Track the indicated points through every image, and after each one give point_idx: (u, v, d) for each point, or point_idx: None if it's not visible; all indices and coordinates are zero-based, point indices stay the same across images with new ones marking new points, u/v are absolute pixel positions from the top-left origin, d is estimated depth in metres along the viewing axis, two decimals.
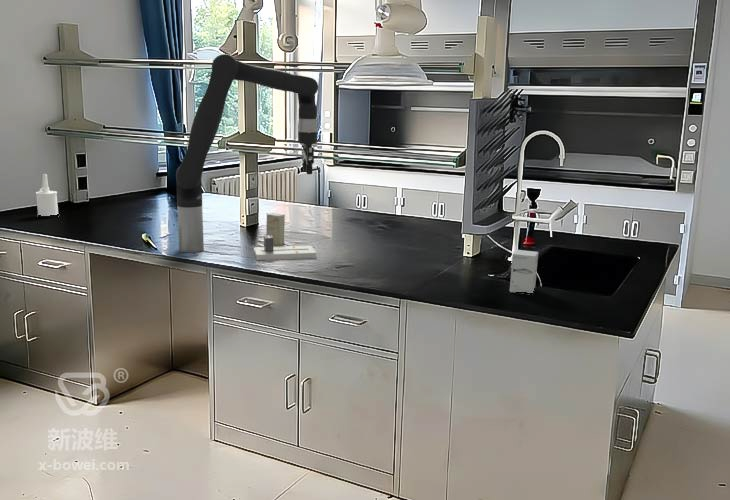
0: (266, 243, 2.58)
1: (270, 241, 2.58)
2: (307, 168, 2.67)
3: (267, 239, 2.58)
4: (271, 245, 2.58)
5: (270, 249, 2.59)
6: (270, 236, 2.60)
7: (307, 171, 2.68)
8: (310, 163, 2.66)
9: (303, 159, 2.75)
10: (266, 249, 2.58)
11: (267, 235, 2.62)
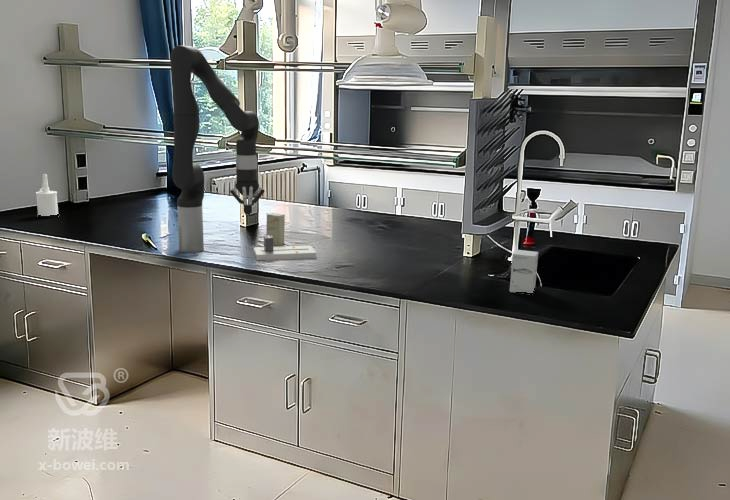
0: (266, 243, 2.58)
1: (270, 241, 2.58)
2: (249, 209, 2.55)
3: (267, 239, 2.58)
4: (271, 245, 2.58)
5: (270, 249, 2.59)
6: (270, 236, 2.60)
7: (250, 212, 2.56)
8: None
9: (246, 200, 2.54)
10: (266, 249, 2.58)
11: (267, 235, 2.62)
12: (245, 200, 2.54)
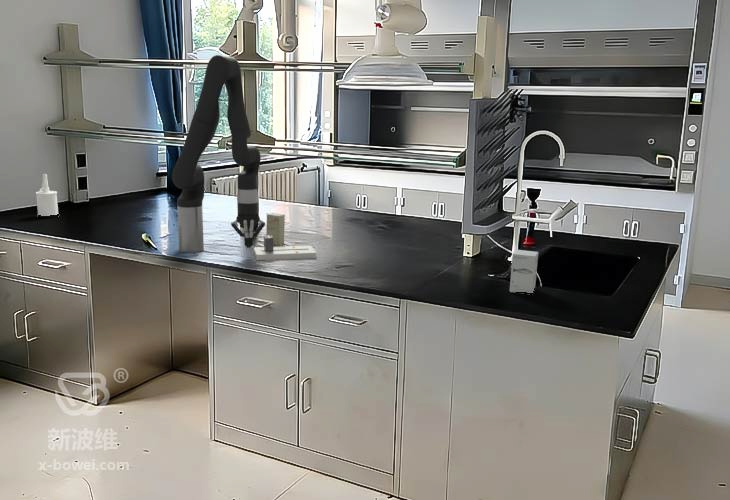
0: (266, 243, 2.58)
1: (270, 241, 2.58)
2: (250, 241, 2.58)
3: (267, 239, 2.58)
4: (271, 245, 2.58)
5: (270, 249, 2.59)
6: (270, 236, 2.60)
7: (250, 244, 2.58)
8: None
9: (247, 233, 2.57)
10: (266, 249, 2.58)
11: (267, 235, 2.62)
12: (246, 233, 2.57)
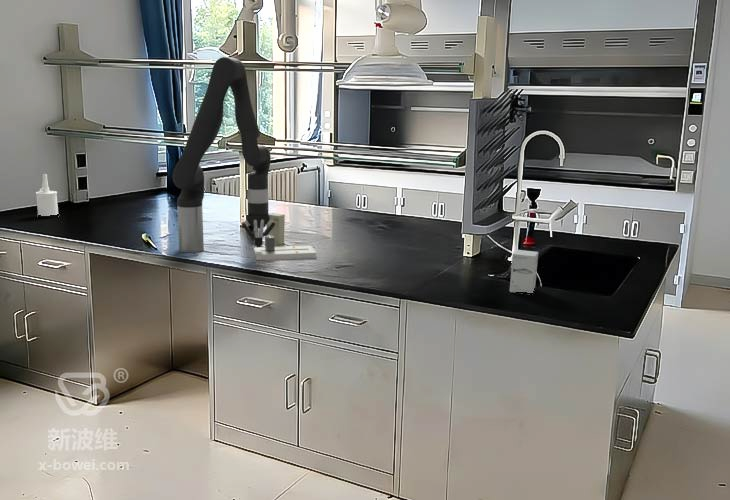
0: (267, 243, 2.58)
1: (271, 241, 2.58)
2: (260, 241, 2.59)
3: (268, 239, 2.58)
4: (272, 245, 2.59)
5: (271, 249, 2.59)
6: (271, 236, 2.61)
7: (260, 244, 2.59)
8: None
9: (257, 233, 2.58)
10: (267, 249, 2.58)
11: (268, 235, 2.62)
12: (256, 233, 2.57)
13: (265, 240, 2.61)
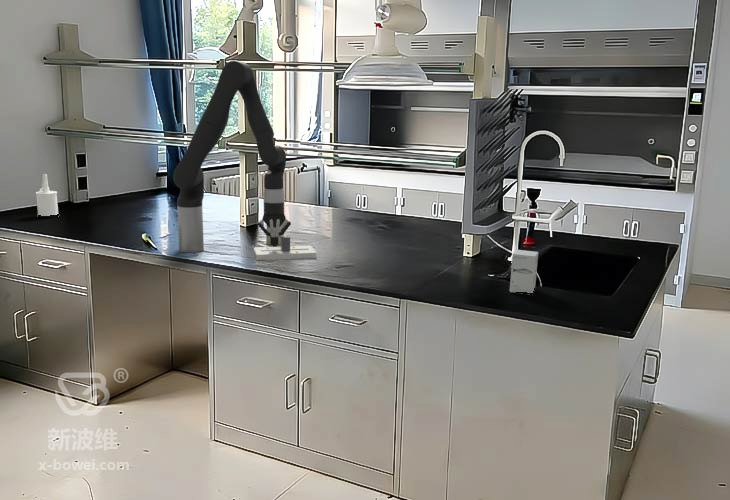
0: (283, 242, 2.59)
1: (287, 240, 2.60)
2: (276, 240, 2.60)
3: (284, 238, 2.59)
4: (288, 244, 2.60)
5: (287, 248, 2.60)
6: (287, 235, 2.62)
7: (276, 243, 2.60)
8: None
9: (273, 232, 2.59)
10: (283, 248, 2.60)
11: None
12: (272, 232, 2.59)
13: (281, 240, 2.62)
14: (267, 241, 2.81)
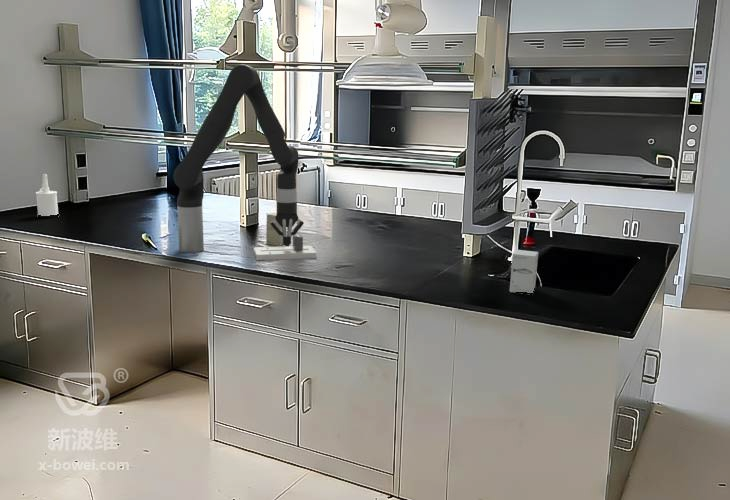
0: (296, 242, 2.61)
1: (299, 240, 2.61)
2: (289, 240, 2.61)
3: (297, 238, 2.60)
4: (300, 244, 2.61)
5: (299, 248, 2.61)
6: (299, 235, 2.63)
7: (289, 243, 2.62)
8: None
9: (286, 232, 2.60)
10: (295, 248, 2.61)
11: (296, 234, 2.64)
12: (285, 232, 2.60)
13: (293, 239, 2.63)
14: (267, 241, 2.81)
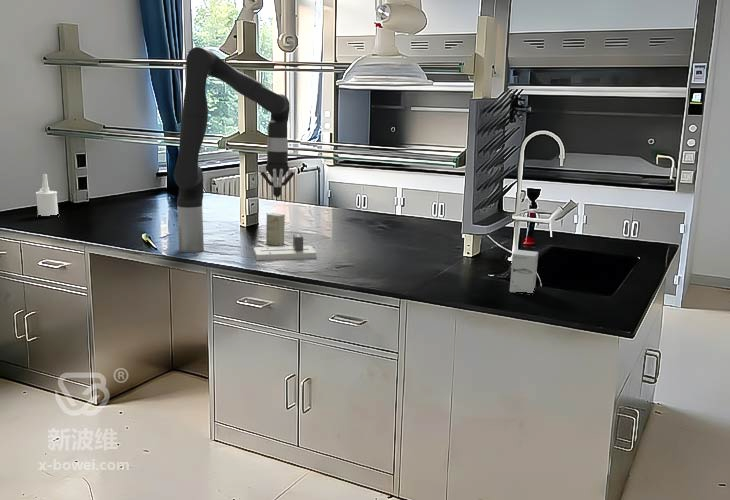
0: (296, 242, 2.61)
1: (300, 240, 2.61)
2: (279, 191, 2.58)
3: (297, 238, 2.60)
4: (301, 244, 2.61)
5: (300, 248, 2.61)
6: (300, 235, 2.63)
7: (279, 194, 2.59)
8: None
9: (276, 182, 2.57)
10: (296, 248, 2.61)
11: (297, 234, 2.64)
12: (275, 182, 2.57)
13: (293, 239, 2.63)
14: (267, 241, 2.81)
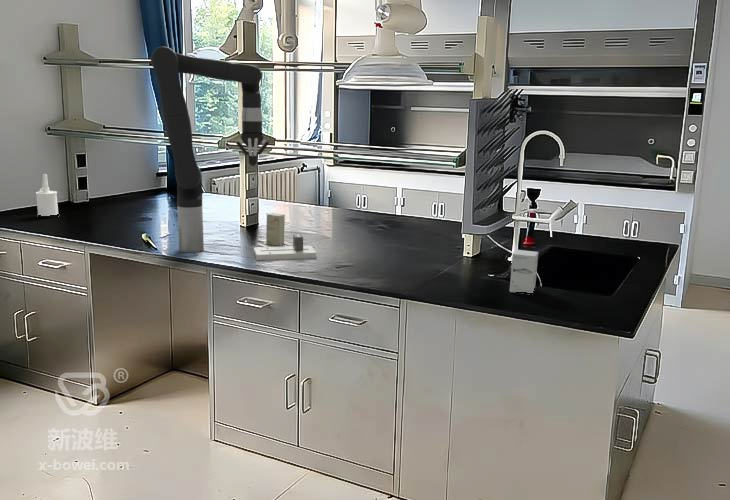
0: (296, 242, 2.61)
1: (300, 240, 2.61)
2: (254, 160, 2.68)
3: (297, 238, 2.60)
4: (301, 244, 2.61)
5: (300, 248, 2.61)
6: (300, 235, 2.63)
7: (254, 163, 2.68)
8: (258, 154, 2.68)
9: None
10: (296, 248, 2.61)
11: (297, 234, 2.64)
12: (250, 151, 2.66)
13: (293, 239, 2.63)
14: (267, 241, 2.81)
